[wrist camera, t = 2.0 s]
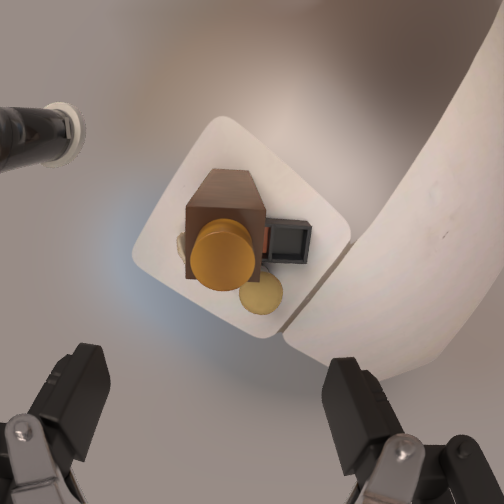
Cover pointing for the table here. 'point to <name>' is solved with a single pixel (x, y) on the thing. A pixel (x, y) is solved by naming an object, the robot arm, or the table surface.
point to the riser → (226, 211)
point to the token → (223, 255)
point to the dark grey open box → (286, 241)
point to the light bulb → (261, 293)
